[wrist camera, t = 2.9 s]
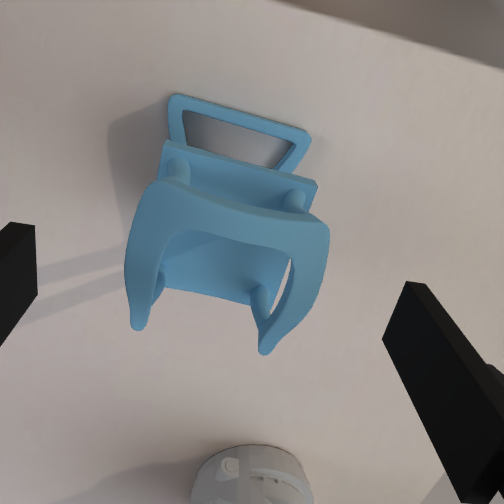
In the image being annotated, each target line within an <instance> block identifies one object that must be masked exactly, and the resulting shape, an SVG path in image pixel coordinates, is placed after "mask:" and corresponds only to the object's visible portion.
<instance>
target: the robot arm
mask: <svg viewBox="0 0 504 504" xmlns="http://www.w3.org/2000/svg"><path fill="white" fill-rule="evenodd" d="M37 295H38V289H37V265H36V241H35V225H29V224H22V223H16V222H10V223H8V224H7V225H6V226H5V227H4V228H3V229H2V230H1V231H0V347H1V345H2V344H3V342H4V341H5V340H6V338H7V337H8V335H9V334H10V333H11V331H12V330H13V328H14V327H15V326H16V324H17V323H18V321H19V320H20V319H21V317H22V316H23V314H24V313H25V312H26V310H27V309H28V307H29V306H30V305H31V303H32V302H33V300H34V299H35V298H36V296H37ZM382 341H383V343H384V345H385V347H386V349H387V351H388V353H389V355H390V357H391V359H392V361H393V363H394V365H395V368H396V370H397V372H398V374H399V376H400V378H401V380H402V382H403V384H404V386H405V388H406V390H407V392H408V394H409V396H410V398H411V401H412V403H413V405H414V407H415V409H416V411H417V413H418V415H419V417H420V419H421V421H422V423H423V425H424V427H425V429H426V432H427V434H428V436H429V438H430V440H431V442H432V444H433V446H434V448H435V450H436V452H437V454H438V456H439V458H440V460H441V463H442V465H443V467H444V469H445V471H446V473H447V475H448V477H449V479H450V481H451V483H452V485H453V487H454V489H455V491H456V493H457V496H458V498H459V500H460V502H461V503H468V504H489V503H490V501H491V500H492V498H493V497H494V496H495V494H496V493H497V491H498V490H499V492H500V493H501V495H502V497H503V499H504V374H502V373H501V372H500V371H499V370H498V369H496V368H495V367H494V366H493V365H491V364H486V363H485V362H484V361H483V359H482V358H481V357H480V355H479V354H478V353H477V351H476V350H475V349H474V347H473V346H472V345H471V343H470V342H469V341H468V339H467V338H466V337H465V335H464V334H463V333H462V331H461V330H460V329H459V327H458V326H457V325H456V324H455V322H454V321H453V320H452V318H451V317H450V316H449V314H448V313H447V312H446V310H445V309H444V308H443V306H442V305H441V304H440V302H439V301H438V300H437V298H436V297H435V296H434V294H433V293H432V292H431V290H430V289H429V288H428V287H427V285H426V284H423V283H417V282H410V281H406V283H405V285H404V287H403V290H402V292H401V295H400V297H399V299H398V302H397V304H396V306H395V309H394V311H393V314H392V316H391V318H390V321H389V323H388V325H387V328H386V330H385V333H384V335H383V337H382Z"/></svg>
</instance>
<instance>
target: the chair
mask: <svg viewBox="0 0 504 504" xmlns="http://www.w3.org/2000/svg"><path fill="white" fill-rule="evenodd" d="M184 110H189V111H192V112H195V113H199V114H202V115H205V116H208V117H212V118H215V119H218V120H222V121H225V122H228V123H231V124H235V125H238V126H241V127H245V128H248V129H251V130H254V131H258V132H261V133H264V134H268V135H271V136H274V137H277V138H281V139H284V140H287V141H291V142H292V143H293V145H292V146H291V148H290V149H289V150H288V152H287V153H286V154H285V155H284V157H283V158H282V159H281V160H280V161H279V163H278V164H277V165H276V166H275V168H274V169H270V168H265V167H261V166H257V165H253V164H250V163H246V162H243V161H239V160H235V159H232V158H228V157H225V156H222V155H218V154H215V153H212V152H209V151H206V150H202V149H199V148H196V147H192V146H188V145H187V141H186V135H185V129H184V122H183V115H182V114H183V111H184ZM168 127H169V136H170V140H167V139H166V141H165V143H164V145H163V149H162V154H161V159H160V164H159V169H158V174H157V179H156V181H154V182H152V183H150V185H149V186H148V187H147V188H146V190H145V191H144V193H143V195H142V197H141V199H140V202H139V204H138V207H137V210H136V213H135V216H134V219H133V223H132V226H131V230H130V234H129V238H128V243H127V248H126V255H125V263H124V277H125V285H126V292H127V296H128V301H129V306H130V324H131V327H132V328H133V329H134V330H136V331H140V330H143V329H144V327H145V326H146V324H147V321H148V317H149V314H150V309H151V306H152V305H153V304H154V302H155V301H156V300H157V298H158V297H159V296H160V294H161V292H162V291H163V289H164V287H166V288H172V289H178V290H184V291H190V292H195V293H200V294H204V295H209V296H214V297H218V298H222V299H226V300H230V301H234V302H238V303H241V304H245V305H250V306H251V309H252V313H253V316H254V319H255V322H256V325H257V328H258V331H259V334H258V351H259V353H260V354H261V355H268V354H269V353H270V352H271V351H272V350H273V349H274V347H275V346H276V345H277V343H278V342H279V341H280V340H281V339H282V338H283V337H284V336H285V335H286V334H287V333H289V332H290V331H291V330H292V329H293V328H294V327H296V326H297V325H298V324H299V323H300V322H301V321H302V320H303V319H304V317H305V316H306V315H307V313H308V312H309V311H310V309H311V308H312V306H313V304H314V302H315V299H316V297H317V295H318V292H319V289H320V286H321V283H322V280H323V276H324V272H325V267H326V262H327V257H328V251H329V243H330V231H329V228H328V226H327V225H326V224H325V223H323V222H322V221H321V220H319V219H318V218H317V217H315V216H314V215H312V214H311V213H308V212H309V209H310V207H311V204H312V201H313V199H314V196H315V193H316V191H317V188H318V186H317V184H316V183H315V181H314V180H312V179H308V178H304V177H301V176H297V175H293V174H291V173H292V172H293V170H294V169H295V168H296V166H297V165H298V164H299V162H300V161H301V160H302V158H303V156H304V155H305V153H306V151H307V150H308V148H309V145H310V143H311V136H310V135H309V134H308V133H307V132H306V131H304V130H302V129H299V128H295V127H292V126H288V125H285V124H282V123H278V122H275V121H271V120H268V119H265V118H261V117H258V116H254V115H251V114H247V113H244V112H241V111H237V110H234V109H230V108H227V107H224V106H220V105H217V104H213V103H210V102H207V101H203V100H200V99H196V98H193V97H189V96H186V95H183V94H174V95H172V96H171V97H170V99H169V102H168ZM290 258H291V268H290V272H289V276H288V280H287V284H286V286H285V289H284V292H283V295H282V297H281V299H280V301H279V303H278V305H277V306H276V308H275V310H274V311H273V313H272V314H271V315H270V310H271V308H272V306H273V303H274V300H275V298H276V295H277V292H278V290H279V287H280V284H281V282H282V279H283V276H284V273H285V270H286V267H287V265H288V262H289V259H290Z"/></svg>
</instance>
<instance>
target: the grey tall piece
mask: <svg viewBox="0 0 504 504" xmlns="http://www.w3.org/2000/svg"><path fill="white" fill-rule="evenodd" d="M189 504H314V500H313V494H312V491H311V488H310V484H309V482H308V479H307V477H306V475H305V472H304V470H303V468H302V467H301V465H300V464H299V463H298V462H297V460H296V459H295V458H294V457H293V456H292V455H290V454H288V453H286V452H285V451H283V450H281V449H277V448H274V447H270V446H266V445H245V446H237V447H234V448H230V449H227V450H224V451H222V452H220V453H217V454H216V455H214V456H213V457H211V458H210V459H208V460H207V461H206V462H205V463H204V464H203V465H202V467H201V468H200V470H199V472H198V475H197V478H196V480H195V483H194V486H193V489H192V494H191V499H190V503H189Z"/></svg>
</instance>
